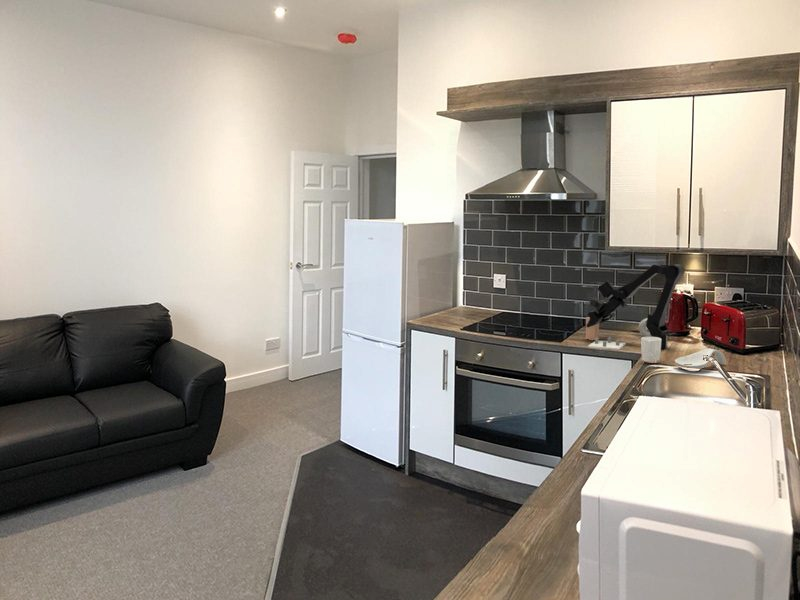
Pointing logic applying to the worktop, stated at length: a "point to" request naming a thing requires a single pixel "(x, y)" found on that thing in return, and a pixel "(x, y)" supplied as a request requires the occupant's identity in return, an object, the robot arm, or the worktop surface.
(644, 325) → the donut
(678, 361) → the spoon rest
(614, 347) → the peg board
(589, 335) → the terracotta block
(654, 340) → the white cup
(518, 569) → the worktop surface
